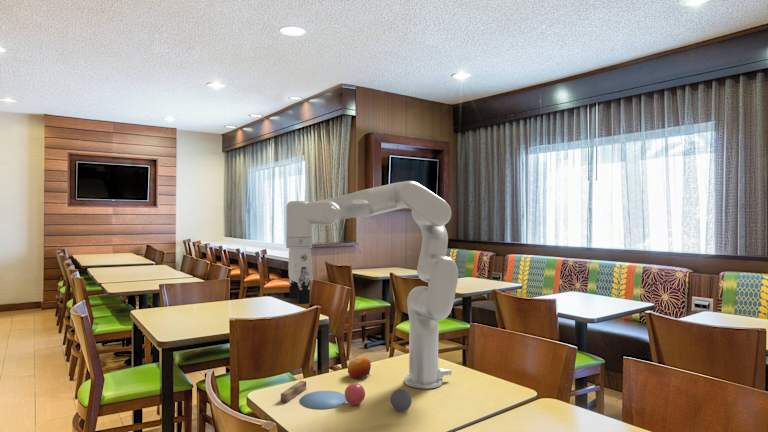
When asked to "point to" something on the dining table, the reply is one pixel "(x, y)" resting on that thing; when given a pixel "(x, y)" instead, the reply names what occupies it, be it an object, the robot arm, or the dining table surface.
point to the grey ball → (400, 400)
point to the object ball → (354, 394)
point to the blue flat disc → (323, 399)
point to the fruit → (359, 367)
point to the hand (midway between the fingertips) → (299, 301)
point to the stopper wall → (293, 391)
